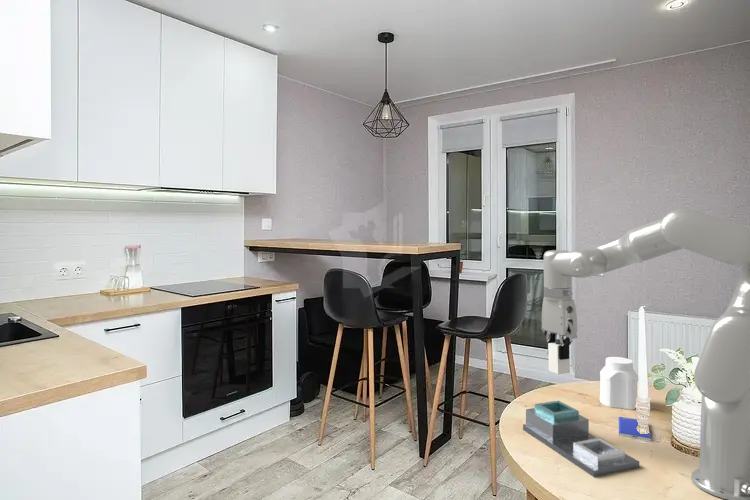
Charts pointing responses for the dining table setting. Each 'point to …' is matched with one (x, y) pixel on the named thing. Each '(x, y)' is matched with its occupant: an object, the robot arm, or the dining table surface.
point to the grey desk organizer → (575, 439)
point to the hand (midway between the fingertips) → (558, 356)
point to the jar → (618, 383)
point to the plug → (557, 359)
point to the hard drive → (631, 429)
